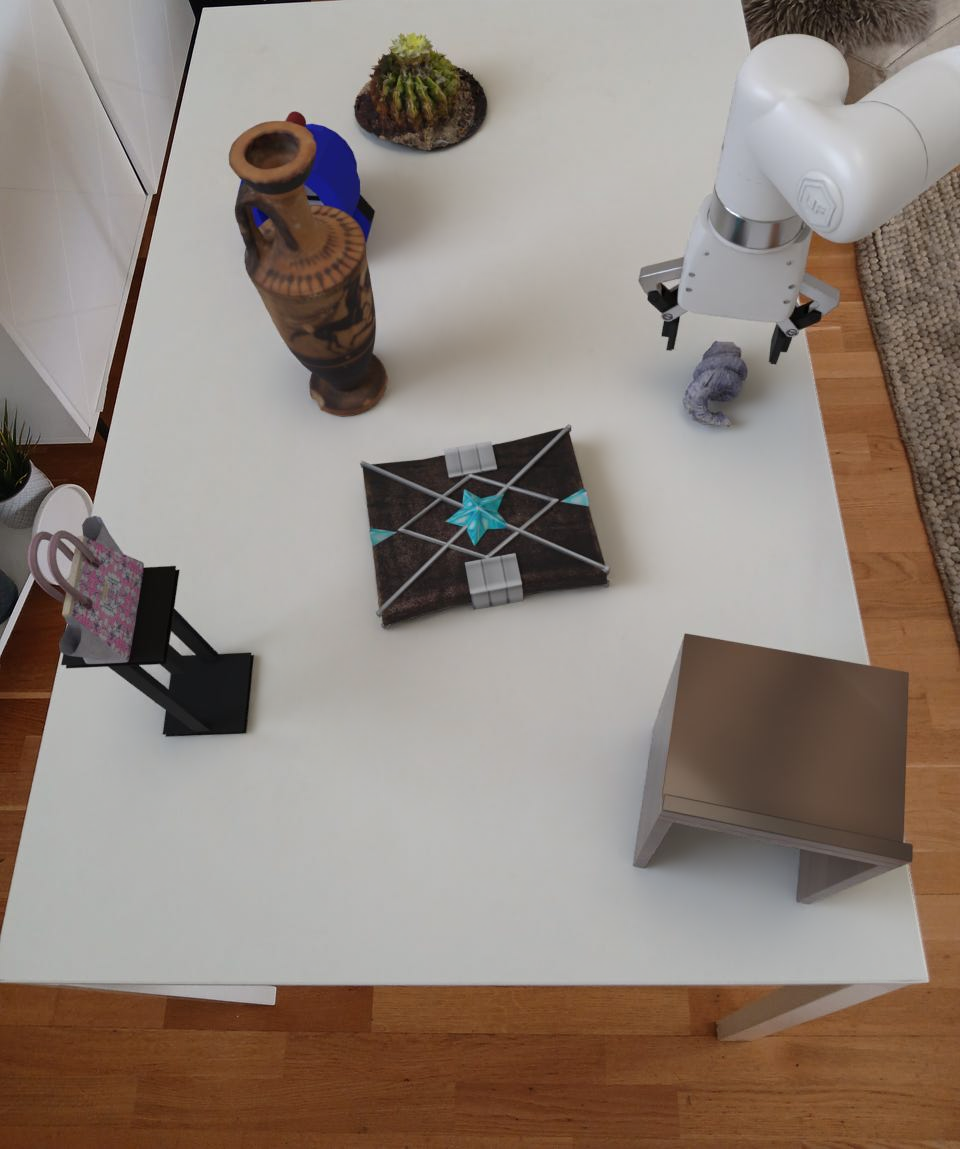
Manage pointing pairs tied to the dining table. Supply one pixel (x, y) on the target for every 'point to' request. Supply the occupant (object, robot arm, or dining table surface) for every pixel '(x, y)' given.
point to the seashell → (715, 382)
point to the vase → (308, 267)
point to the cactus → (420, 97)
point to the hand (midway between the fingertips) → (722, 345)
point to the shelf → (782, 759)
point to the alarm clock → (331, 177)
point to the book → (480, 526)
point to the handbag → (142, 633)
